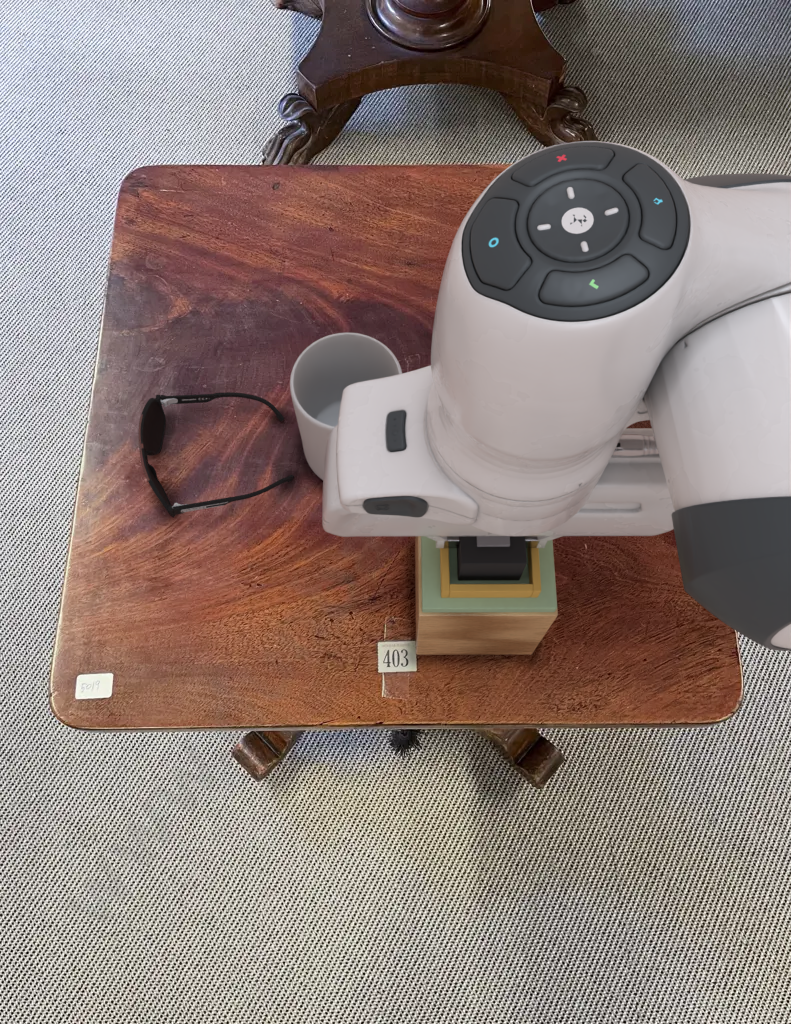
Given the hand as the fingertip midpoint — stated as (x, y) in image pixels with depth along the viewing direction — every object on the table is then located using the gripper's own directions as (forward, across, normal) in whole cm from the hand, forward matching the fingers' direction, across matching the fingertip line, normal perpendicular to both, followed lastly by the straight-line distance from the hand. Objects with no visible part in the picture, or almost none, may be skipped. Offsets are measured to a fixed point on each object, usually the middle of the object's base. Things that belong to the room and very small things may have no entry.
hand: (488, 537), depth 55 cm
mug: (+15, +8, -13) cm, 21 cm away
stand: (+14, 0, 0) cm, 15 cm away
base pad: (+2, 0, 0) cm, 3 cm away
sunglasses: (+15, +21, -12) cm, 28 cm away
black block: (+2, 0, 0) cm, 2 cm away
